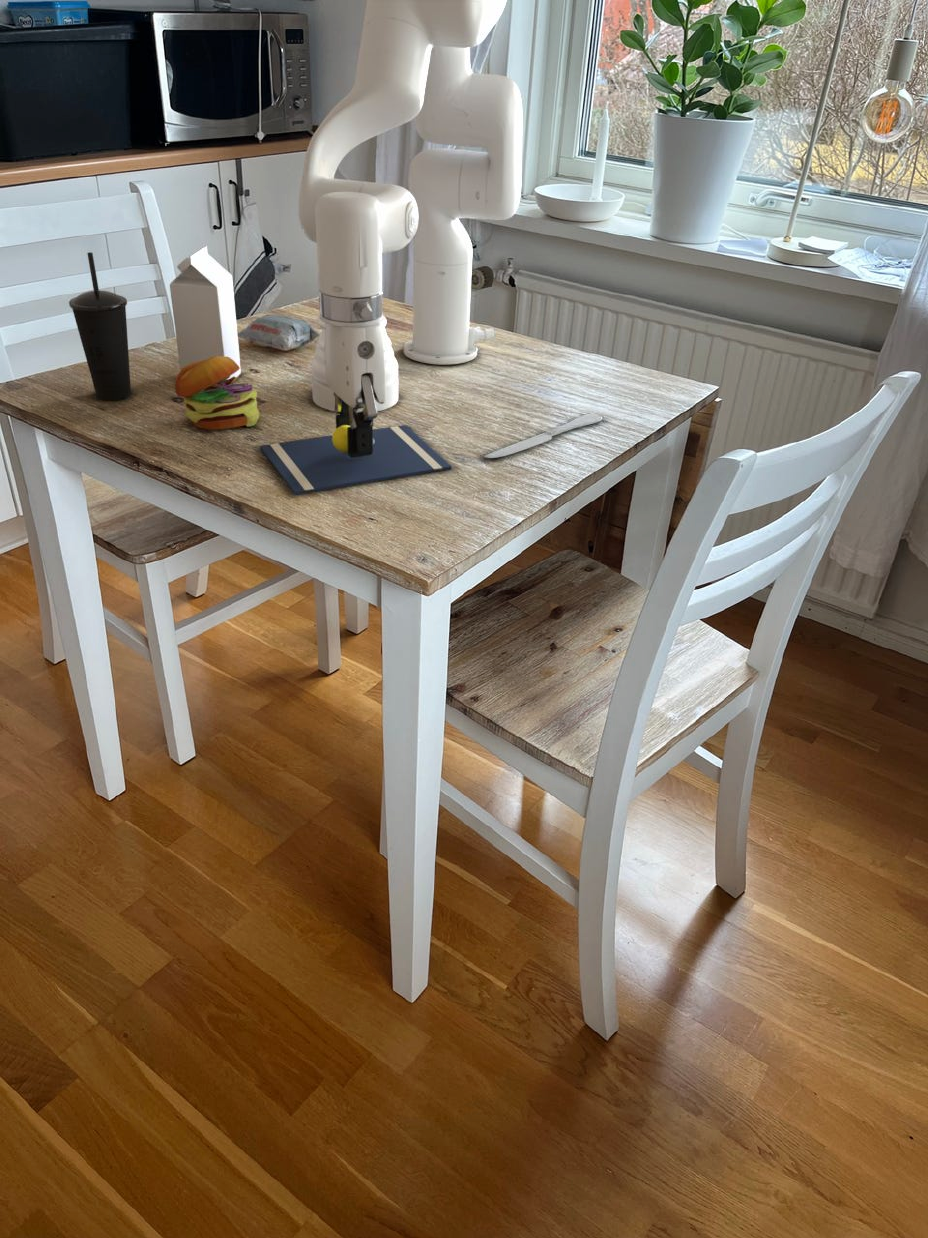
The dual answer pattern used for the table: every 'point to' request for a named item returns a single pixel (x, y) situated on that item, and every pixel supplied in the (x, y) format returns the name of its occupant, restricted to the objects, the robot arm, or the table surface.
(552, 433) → the butter knife
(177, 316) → the milk carton
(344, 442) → the light bulb
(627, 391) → the table surface
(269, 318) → the packaged food
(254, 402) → the cheeseburger
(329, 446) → the dish cloth
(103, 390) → the drinking cup
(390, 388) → the honey pot
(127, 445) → the table surface
